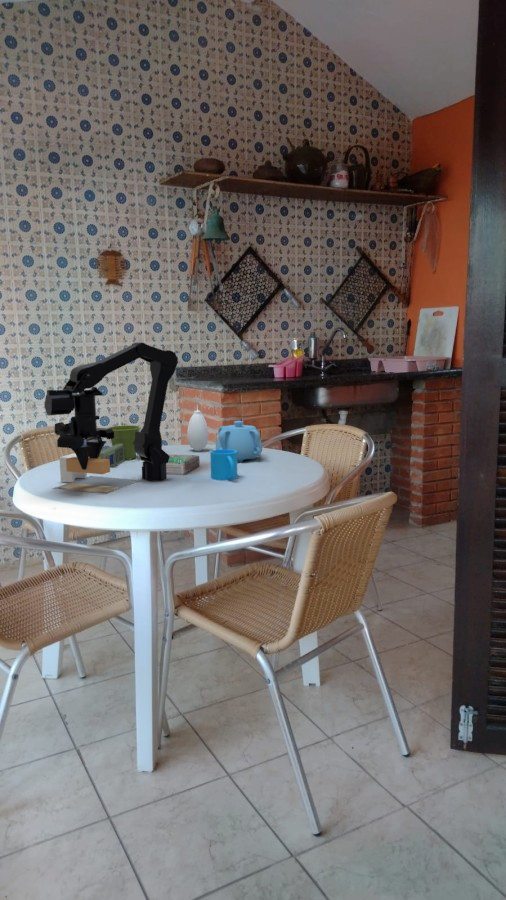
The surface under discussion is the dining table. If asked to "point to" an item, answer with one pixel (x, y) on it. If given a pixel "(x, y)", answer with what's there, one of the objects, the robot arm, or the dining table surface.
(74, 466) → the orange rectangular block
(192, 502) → the dining table surface
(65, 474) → the block
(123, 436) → the plant pot
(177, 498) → the dining table surface
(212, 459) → the mug
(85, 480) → the board
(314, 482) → the dining table surface
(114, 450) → the handheld radio
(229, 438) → the decorative pot
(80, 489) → the pad
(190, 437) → the white air blower
